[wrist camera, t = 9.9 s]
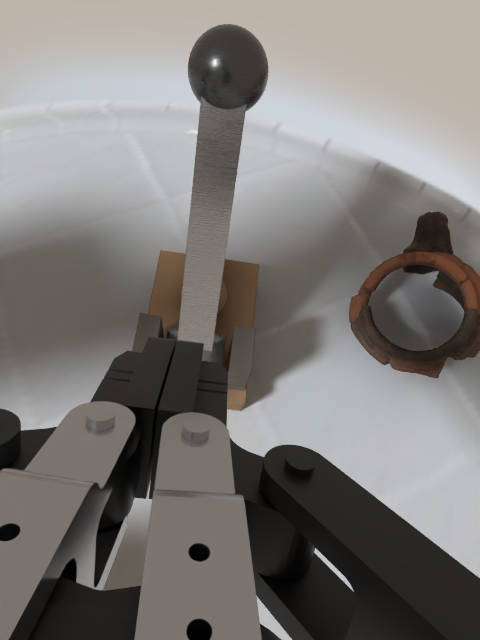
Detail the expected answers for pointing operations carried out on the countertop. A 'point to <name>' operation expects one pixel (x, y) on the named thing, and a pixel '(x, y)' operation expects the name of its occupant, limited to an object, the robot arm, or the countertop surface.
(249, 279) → the nutcracker base
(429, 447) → the countertop surface
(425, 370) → the pottery mug
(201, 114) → the lever
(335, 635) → the robot arm
